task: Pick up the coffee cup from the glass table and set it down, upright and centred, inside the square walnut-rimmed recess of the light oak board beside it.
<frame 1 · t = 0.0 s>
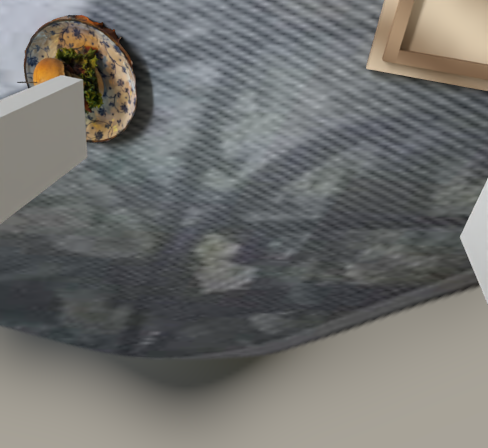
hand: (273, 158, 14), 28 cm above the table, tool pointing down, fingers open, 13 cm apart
burger: (89, 79, 44), on the table
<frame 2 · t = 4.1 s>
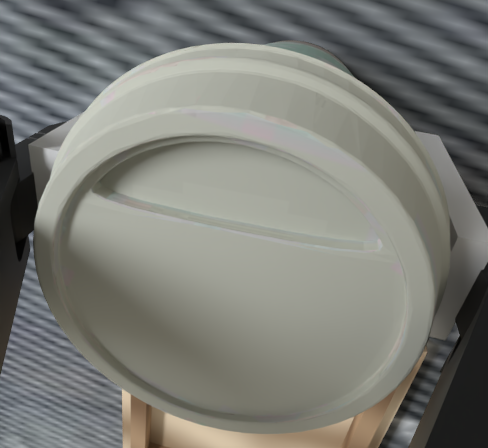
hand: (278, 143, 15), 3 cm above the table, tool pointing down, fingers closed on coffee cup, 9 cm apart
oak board: (250, 396, 28), on the table
coffee cup: (289, 113, 18), on the table, touching gripper
when the fingers open (5 cm above the table, at t = 10.0 s): coffee cup stays where it is, resting on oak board.
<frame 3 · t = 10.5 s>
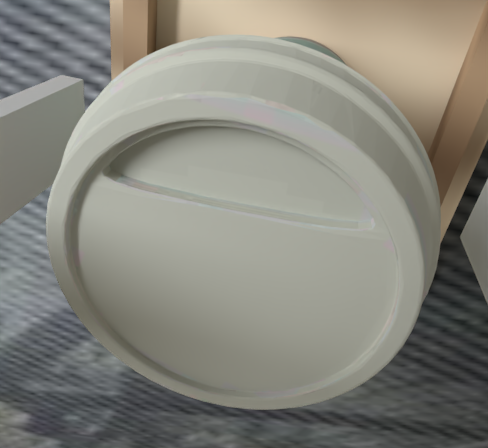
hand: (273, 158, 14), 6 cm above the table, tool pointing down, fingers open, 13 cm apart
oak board: (292, 104, 20), on the table
coffee cup: (288, 108, 19), point 1 cm above the table, touching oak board
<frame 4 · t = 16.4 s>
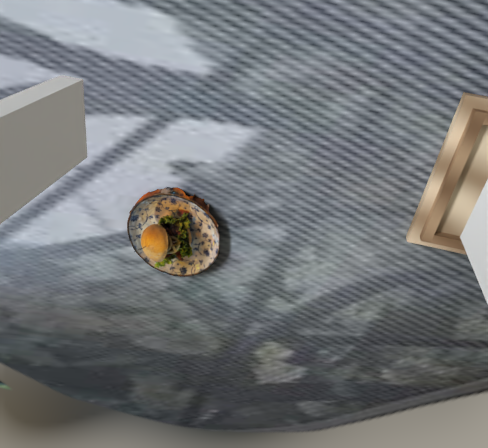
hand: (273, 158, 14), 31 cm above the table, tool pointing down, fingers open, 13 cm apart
burger: (178, 228, 55), on the table
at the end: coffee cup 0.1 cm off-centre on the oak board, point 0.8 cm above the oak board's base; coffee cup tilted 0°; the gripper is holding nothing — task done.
